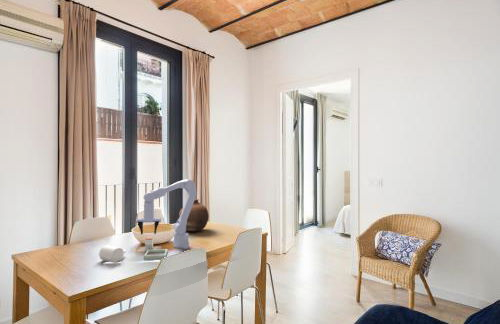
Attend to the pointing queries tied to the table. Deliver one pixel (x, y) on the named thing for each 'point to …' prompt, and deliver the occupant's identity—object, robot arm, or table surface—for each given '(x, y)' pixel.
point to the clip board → (147, 248)
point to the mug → (111, 253)
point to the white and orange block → (149, 241)
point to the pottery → (196, 217)
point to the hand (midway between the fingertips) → (148, 233)
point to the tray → (155, 255)
